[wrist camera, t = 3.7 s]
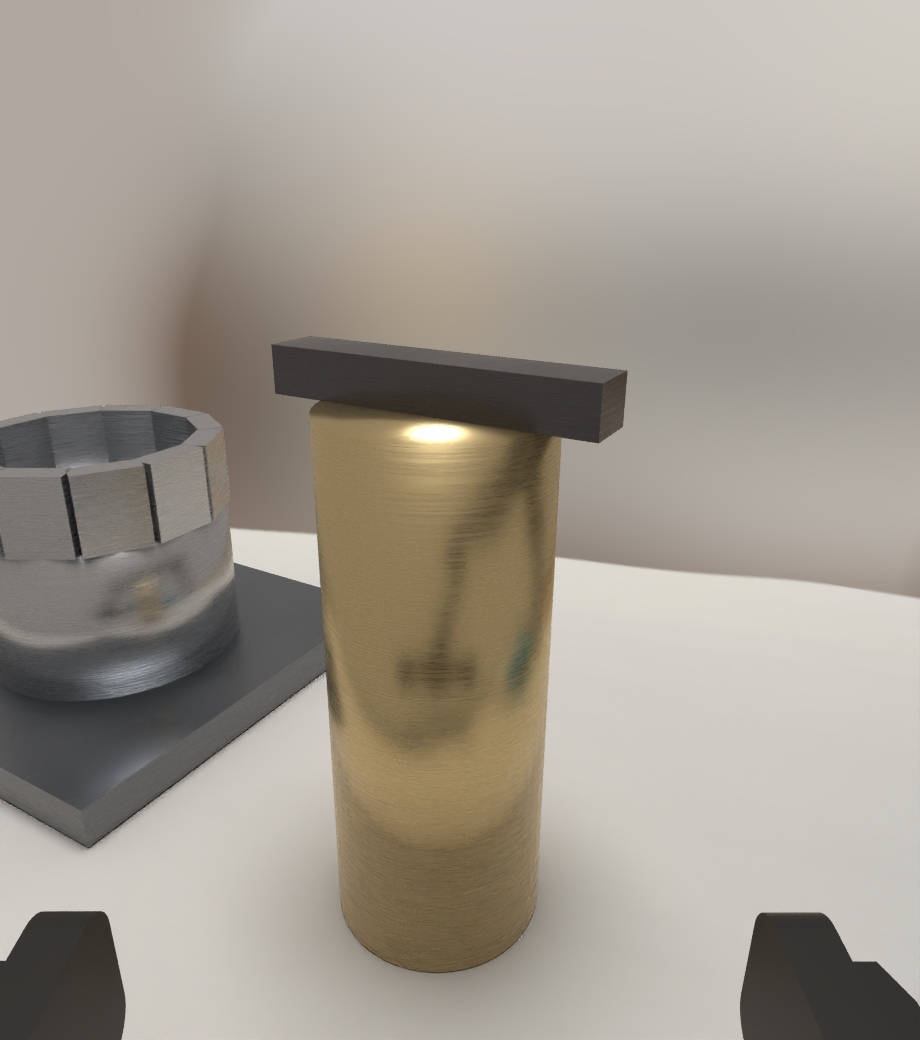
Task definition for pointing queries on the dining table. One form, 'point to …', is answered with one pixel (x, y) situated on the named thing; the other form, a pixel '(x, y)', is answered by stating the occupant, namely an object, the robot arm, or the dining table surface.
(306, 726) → the dining table surface
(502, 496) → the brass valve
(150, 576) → the pipe socket
